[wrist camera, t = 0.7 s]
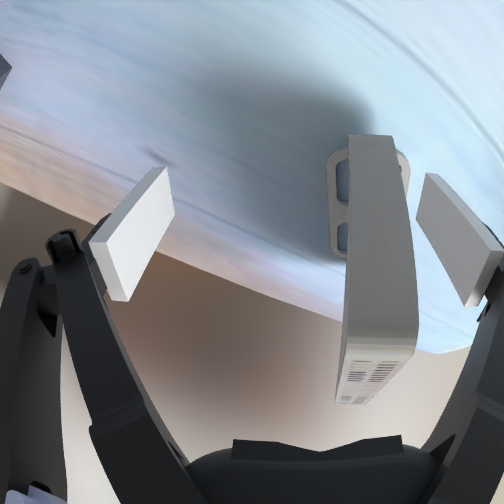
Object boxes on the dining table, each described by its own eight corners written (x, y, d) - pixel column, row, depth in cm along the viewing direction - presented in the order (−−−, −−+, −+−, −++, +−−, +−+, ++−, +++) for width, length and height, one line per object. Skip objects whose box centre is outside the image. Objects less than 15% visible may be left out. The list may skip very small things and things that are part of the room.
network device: (321, 116, 25) (301, 343, 15) (416, 119, 23) (466, 346, 12) (330, 268, 46) (316, 403, 35) (387, 270, 43) (384, 406, 33)
